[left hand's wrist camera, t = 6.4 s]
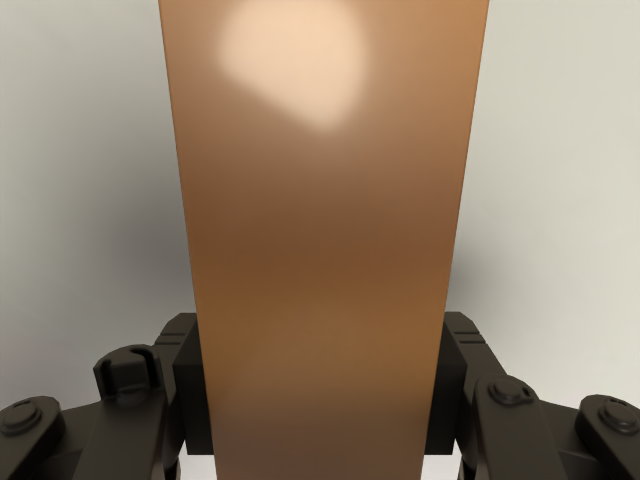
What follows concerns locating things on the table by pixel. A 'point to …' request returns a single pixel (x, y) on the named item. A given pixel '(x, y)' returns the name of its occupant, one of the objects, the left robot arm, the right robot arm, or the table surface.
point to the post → (321, 220)
